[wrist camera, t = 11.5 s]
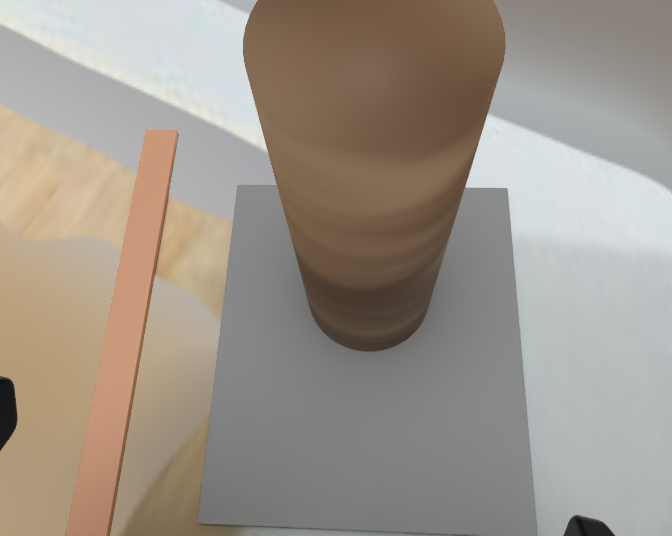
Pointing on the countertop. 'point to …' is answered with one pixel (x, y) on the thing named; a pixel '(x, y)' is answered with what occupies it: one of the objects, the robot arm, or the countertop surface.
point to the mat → (370, 394)
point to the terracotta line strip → (123, 342)
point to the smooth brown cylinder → (372, 145)
